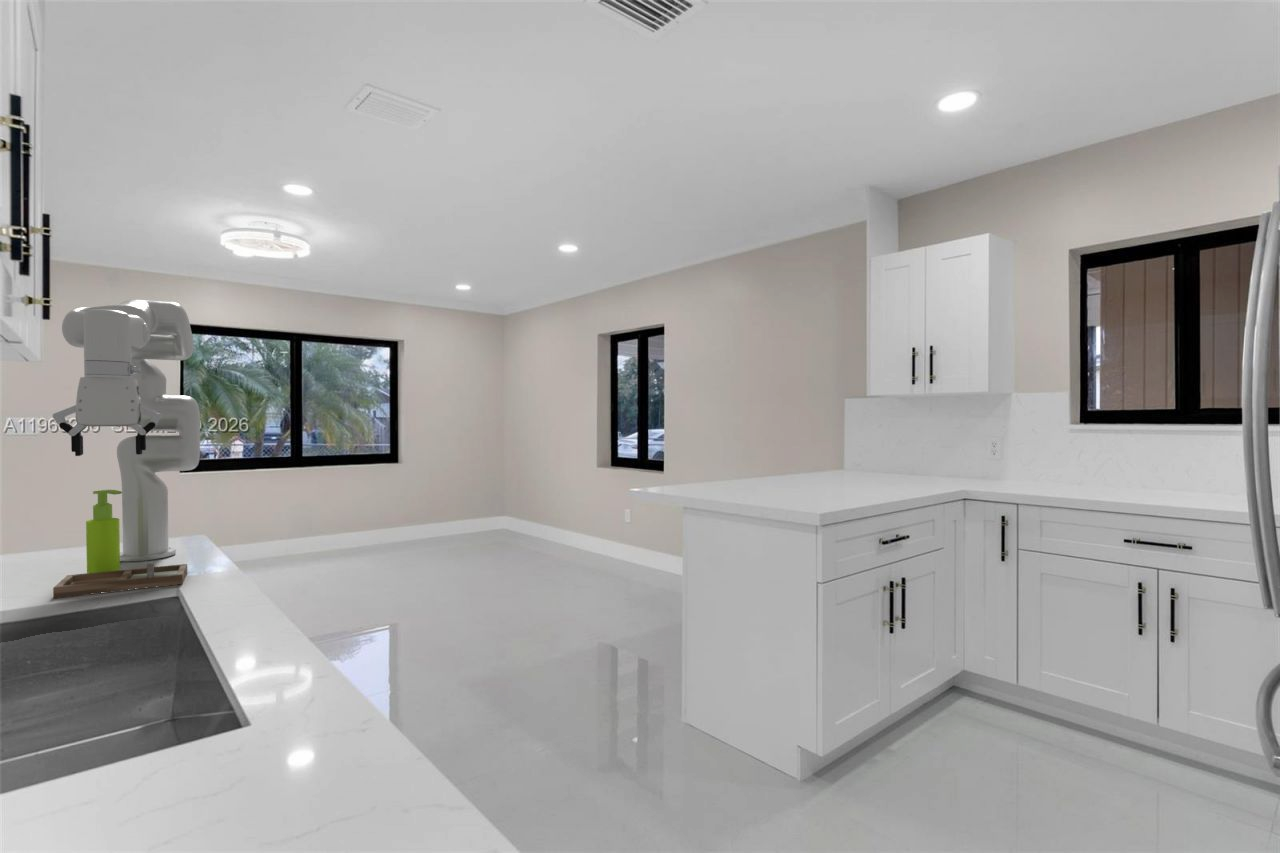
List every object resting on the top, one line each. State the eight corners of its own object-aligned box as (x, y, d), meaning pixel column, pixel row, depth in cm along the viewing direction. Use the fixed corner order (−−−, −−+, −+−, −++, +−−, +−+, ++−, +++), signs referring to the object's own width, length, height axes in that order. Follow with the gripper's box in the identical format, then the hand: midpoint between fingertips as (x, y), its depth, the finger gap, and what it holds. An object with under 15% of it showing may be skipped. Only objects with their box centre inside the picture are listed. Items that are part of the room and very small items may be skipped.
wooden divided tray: (67, 585, 142) (67, 561, 142) (187, 573, 153) (187, 551, 153) (53, 598, 132) (52, 573, 132) (182, 584, 143) (182, 561, 143)
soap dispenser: (110, 580, 147) (108, 491, 146) (80, 579, 147) (78, 491, 146) (131, 573, 152) (129, 488, 152) (102, 573, 153) (100, 488, 152)
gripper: (162, 373, 140) (164, 452, 141) (57, 370, 131) (58, 454, 132) (158, 371, 134) (159, 454, 134) (47, 368, 125) (48, 457, 125)
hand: (109, 454), depth 133 cm, fingers open, 9 cm apart
